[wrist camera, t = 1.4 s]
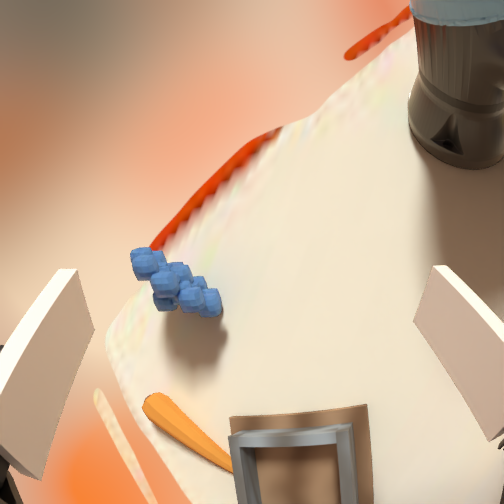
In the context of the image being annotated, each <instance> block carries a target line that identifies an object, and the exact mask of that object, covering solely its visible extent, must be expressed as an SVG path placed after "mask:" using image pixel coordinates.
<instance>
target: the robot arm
mask: <svg viewBox="0 0 504 504" xmlns="http://www.w3.org/2000/svg"><path fill="white" fill-rule="evenodd" d="M409 6H410V11H411V12H412V14H413V18H414V25H415V33H416V41H417V52H418V64H419V73H418V75H417V78H416V80H415V83H414V86H413V89H412V90H411V92H410V95H409V99H408V119H409V124H410V127H411V130H412V132H413V134H414V136H415V137H416V139H417V140H418V142H419V143H420V144H421V145H422V146H423V147H424V148H425V149H426V150H427V151H428V152H429V153H430V154H432V155H433V156H435V157H436V158H438V159H439V160H441V161H443V162H445V163H447V164H450V165H452V166H456V167H459V168H464V169H483V168H487V167H490V166H492V165H494V164H496V163H497V162H499V161H500V160H501V159H502V158H503V156H504V0H410V4H409ZM413 322H414V324H415V325H416V326H417V328H418V329H419V331H420V332H421V334H422V335H423V336H424V338H425V339H426V341H427V342H428V344H429V345H430V347H431V348H432V350H433V351H434V353H435V354H436V356H437V357H438V359H439V360H440V362H441V363H442V365H443V366H444V368H445V369H446V371H447V372H448V374H449V376H450V377H451V379H452V380H453V382H454V384H455V385H456V387H457V388H458V390H459V392H460V393H461V395H462V397H463V398H464V400H465V401H466V403H467V405H468V407H469V408H470V410H471V412H472V413H473V415H474V417H475V419H476V420H477V422H478V424H479V426H480V427H481V429H482V431H483V433H484V435H485V436H486V438H487V440H488V442H490V441H492V440H494V439H495V438H497V437H499V436H501V435H502V434H503V433H504V323H503V322H502V321H501V320H500V319H499V318H498V317H497V316H496V315H495V314H494V312H493V311H492V310H491V309H490V308H489V307H488V306H487V305H486V304H485V303H484V302H483V301H482V300H481V299H480V298H479V297H478V296H477V295H476V294H475V293H474V292H473V291H472V290H471V289H470V288H469V287H468V286H467V285H466V284H465V283H464V282H463V281H462V280H461V279H460V278H459V277H458V276H457V275H456V274H455V273H454V272H453V271H452V270H451V269H450V268H449V267H448V266H446V265H439V266H432V269H431V272H430V275H429V278H428V281H427V284H426V287H425V290H424V293H423V296H422V299H421V301H420V304H419V307H418V309H417V312H416V315H415V317H414V320H413ZM94 331H95V329H94V326H93V323H92V320H91V317H90V314H89V311H88V307H87V304H86V300H85V297H84V293H83V290H82V286H81V283H80V279H79V275H78V271H77V269H59V270H58V271H57V273H56V274H55V275H54V277H53V278H52V279H51V280H50V282H49V283H48V284H47V285H46V287H45V288H44V290H43V291H42V292H41V294H40V295H39V296H38V298H37V299H36V300H35V302H34V303H33V305H32V306H31V307H30V309H29V310H28V311H27V313H26V314H25V316H24V317H23V319H22V320H21V322H20V323H19V325H18V326H17V328H16V329H15V331H14V332H13V333H12V335H11V336H10V338H9V340H8V341H7V343H6V344H5V346H4V345H0V504H23V502H22V499H21V497H20V495H19V492H18V490H17V487H16V485H15V482H14V479H13V477H12V476H11V474H10V472H9V471H8V468H9V465H11V466H13V467H14V468H15V469H16V470H17V471H18V472H20V473H21V474H24V475H26V476H29V477H31V478H34V479H37V480H40V481H41V479H42V476H43V472H44V468H45V465H46V461H47V457H48V454H49V450H50V447H51V444H52V441H53V438H54V435H55V431H56V428H57V425H58V422H59V419H60V416H61V414H62V411H63V408H64V405H65V402H66V400H67V397H68V394H69V391H70V389H71V386H72V384H73V381H74V378H75V376H76V373H77V371H78V368H79V366H80V363H81V361H82V359H83V356H84V354H85V351H86V349H87V347H88V344H89V342H90V340H91V337H92V335H93V333H94ZM503 446H504V439H503V440H502V441H501V443H500V444H499V446H498V449H501V448H502V447H503ZM503 450H504V449H503ZM500 504H504V486H503V492H502V497H501V501H500Z"/></svg>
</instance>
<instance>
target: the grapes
mask: <svg viewBox="0 0 504 504" xmlns="http://www.w3.org/2000/svg"><path fill="white" fill-rule="evenodd" d="M130 257H131V262H132V267H133V271H134V274H135V276H136V278H137V280H138V281H147V280H150V283H151V286H152V288H153V291H154V293H153V301H154V304H155V306H156V308H157V309H158V311H163V312H164V311H173V310H175V309H177V306H178V305H180V307H181V309H182V311H183V313H195V312H199V314H200V316H201V317H216V316H218V315H219V314H220V313H221V310H222V306H221V304H222V301H221V297H220V294H219V292H218V290H217V289H215V288H210V289H208V287H207V284H206V281H205V279H204V277H203V276H195V277H193V276H192V273H191V270H190V268H189V266H188V265H184V264H183V262H172V263H167V261H166V258H165V256H164V254H163V251H152V250H151V248H150V247H143V248H137V249H134V250H132V251H131V253H130Z"/></svg>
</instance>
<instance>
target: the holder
mask: <svg viewBox="0 0 504 504" xmlns="http://www.w3.org/2000/svg"><path fill="white" fill-rule="evenodd" d="M229 419H230V427H231V436H228V440H229V447H230V454H231V461H232V468H233V475H234V481H235V487H236V494H237V500H238V504H374V497H373V472H372V455H371V442H370V430H369V419H368V409H367V404H363V405H357V406H351V407H344V408H337V409H330V410H322V411H313V412H303V413H292V414H278V415H260V416H233V417H230V418H229Z"/></svg>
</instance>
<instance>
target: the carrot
mask: <svg viewBox="0 0 504 504" xmlns="http://www.w3.org/2000/svg"><path fill="white" fill-rule="evenodd" d="M142 409H143V411H144V413H145V414H146V416H147V417H148V419H149V420H150V421H151V422H153V423H154V424H155V425H157V426H158V427H160V428H161V429H162V430H164V431H165V432H167V433H168V434H169V435H171V436H172V437H174V438H175V439H177V440H178V441H180V442H181V443H183V444H184V445H186V446H187V447H189V448H190V449H192V450H193V451H195V452H197V453H198V454H200V455H201V456H203V457H205V458H206V459H208V460H210V461H211V462H213V463H215V464H216V465H218V466H220V467H222V468H223V469H225V470H227V471H229V472H231V473H233V468H232V461H231V457H230V456H229V455H228V454H227V453H226V452H225V451H224V450H222V449H221V448H220V447H219V446H218V445H217V444H216V443H215V442H214V441H212V440H211V439H210V438H209V437H208V436H207V435H206V434H205V433H204V432H203V431H202V430H201V429H200V428H199V427H198V426H197V425H196V424H194V423H193V422H192V421H191V420H190V419H189V418H188V417H187V416H186V415H185V414H184V413H183V412H182V411H181V410H180V409H179V407H178V406H177V405H176V404H175V403H174V402H173V401H172V400H171V399H170V398H169V397H168V396H166V395H164V394H162V393H160V392H158V393H153V394H152V395H149V396H148V397H147V398H146V399H145V401H144V404H143V406H142Z"/></svg>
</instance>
